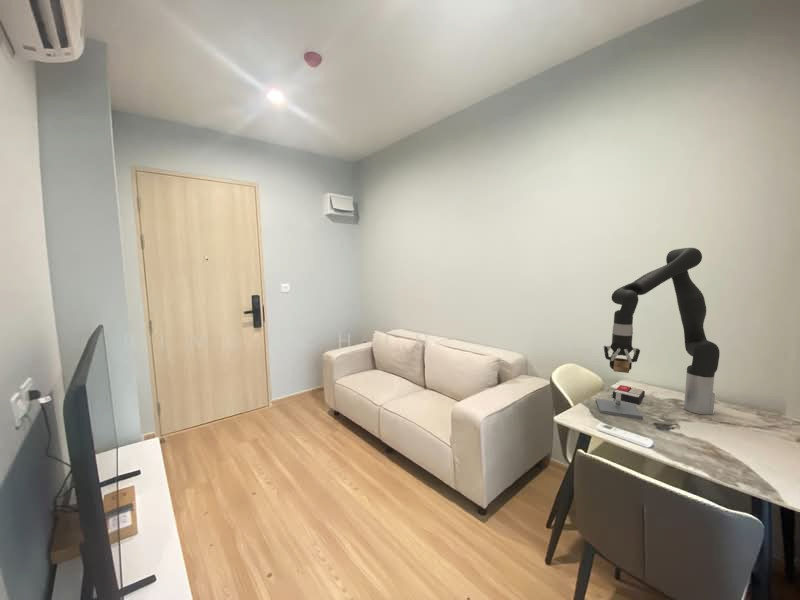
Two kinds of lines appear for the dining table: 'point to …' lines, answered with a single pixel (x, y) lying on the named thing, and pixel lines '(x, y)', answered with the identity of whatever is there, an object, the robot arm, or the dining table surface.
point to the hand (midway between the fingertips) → (620, 369)
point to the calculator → (629, 394)
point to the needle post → (618, 399)
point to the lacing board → (618, 409)
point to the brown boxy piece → (621, 365)
